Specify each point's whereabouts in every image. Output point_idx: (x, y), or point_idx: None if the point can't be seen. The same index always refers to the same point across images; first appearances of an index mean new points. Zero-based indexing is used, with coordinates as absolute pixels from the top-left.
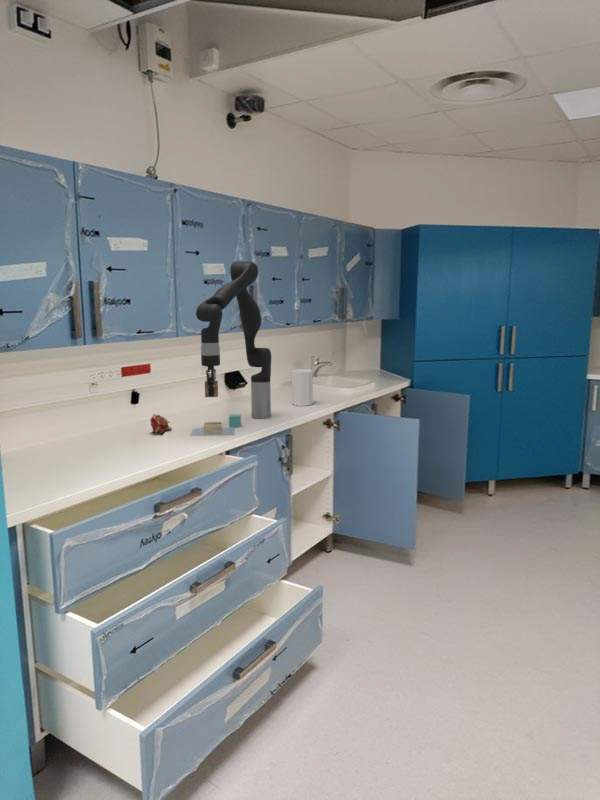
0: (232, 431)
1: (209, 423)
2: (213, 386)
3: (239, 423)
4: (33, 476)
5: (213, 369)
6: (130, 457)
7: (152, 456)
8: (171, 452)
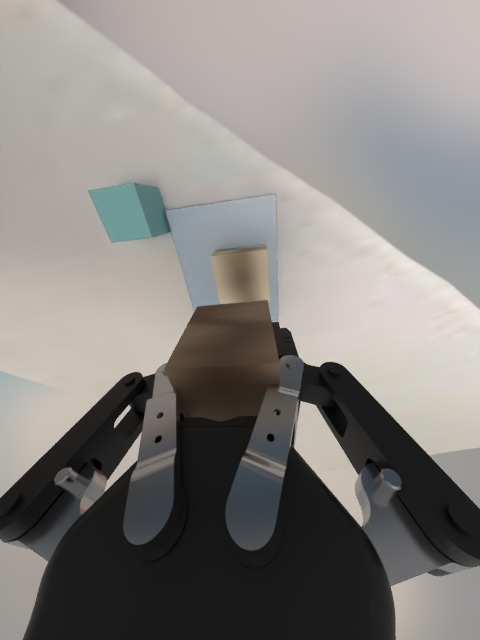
0: (227, 210)
1: (240, 290)
2: (301, 361)
3: (149, 192)
4: (451, 441)
5: (245, 584)
6: (405, 380)
7: (415, 353)
8: (398, 329)
